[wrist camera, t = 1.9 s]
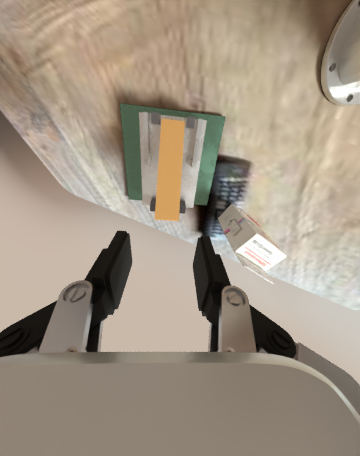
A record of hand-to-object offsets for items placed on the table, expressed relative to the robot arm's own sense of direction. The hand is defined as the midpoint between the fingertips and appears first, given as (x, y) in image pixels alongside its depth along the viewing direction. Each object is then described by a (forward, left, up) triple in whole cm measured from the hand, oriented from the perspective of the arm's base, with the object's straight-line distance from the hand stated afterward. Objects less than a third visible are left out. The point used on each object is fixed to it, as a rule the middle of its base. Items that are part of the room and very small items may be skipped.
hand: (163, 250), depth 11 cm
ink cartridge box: (+8, +16, -22) cm, 28 cm away
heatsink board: (-3, 0, -21) cm, 22 cm away
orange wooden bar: (-3, 0, -12) cm, 13 cm away
